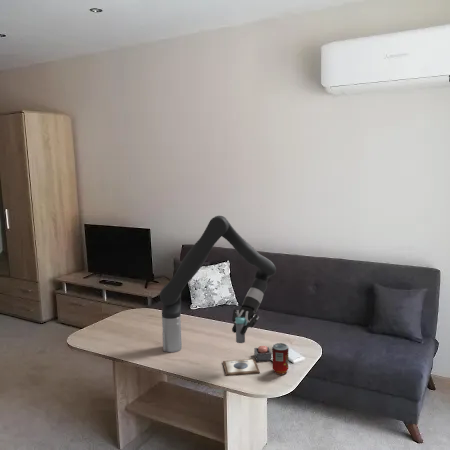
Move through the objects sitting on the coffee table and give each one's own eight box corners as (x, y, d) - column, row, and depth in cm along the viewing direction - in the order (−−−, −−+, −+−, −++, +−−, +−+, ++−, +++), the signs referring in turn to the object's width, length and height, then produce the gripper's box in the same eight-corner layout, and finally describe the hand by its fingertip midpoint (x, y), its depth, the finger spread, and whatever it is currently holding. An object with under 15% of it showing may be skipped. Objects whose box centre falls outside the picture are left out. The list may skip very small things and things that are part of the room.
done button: (259, 354, 211) (259, 349, 211) (257, 350, 215) (257, 346, 215) (268, 354, 211) (268, 349, 211) (266, 350, 216) (266, 345, 215)
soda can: (289, 375, 196) (289, 348, 194) (272, 375, 196) (272, 348, 194) (287, 367, 203) (287, 342, 201) (272, 367, 203) (271, 342, 201)
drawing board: (226, 375, 196) (226, 373, 196) (222, 362, 209) (222, 360, 209) (259, 373, 198) (259, 371, 198) (254, 360, 211) (254, 358, 211)
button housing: (257, 361, 210) (256, 354, 209) (254, 354, 217) (254, 348, 216) (271, 360, 211) (271, 353, 210) (268, 353, 218) (268, 347, 217)
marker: (236, 343, 199) (236, 320, 198) (235, 339, 204) (234, 316, 202) (245, 343, 200) (245, 319, 198) (244, 339, 204) (244, 316, 202)
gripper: (237, 293, 209) (221, 325, 201) (262, 298, 200) (247, 332, 193) (244, 301, 214) (228, 333, 206) (269, 306, 205) (254, 340, 198)
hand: (237, 332), depth 200 cm, fingers closed on marker, 4 cm apart
